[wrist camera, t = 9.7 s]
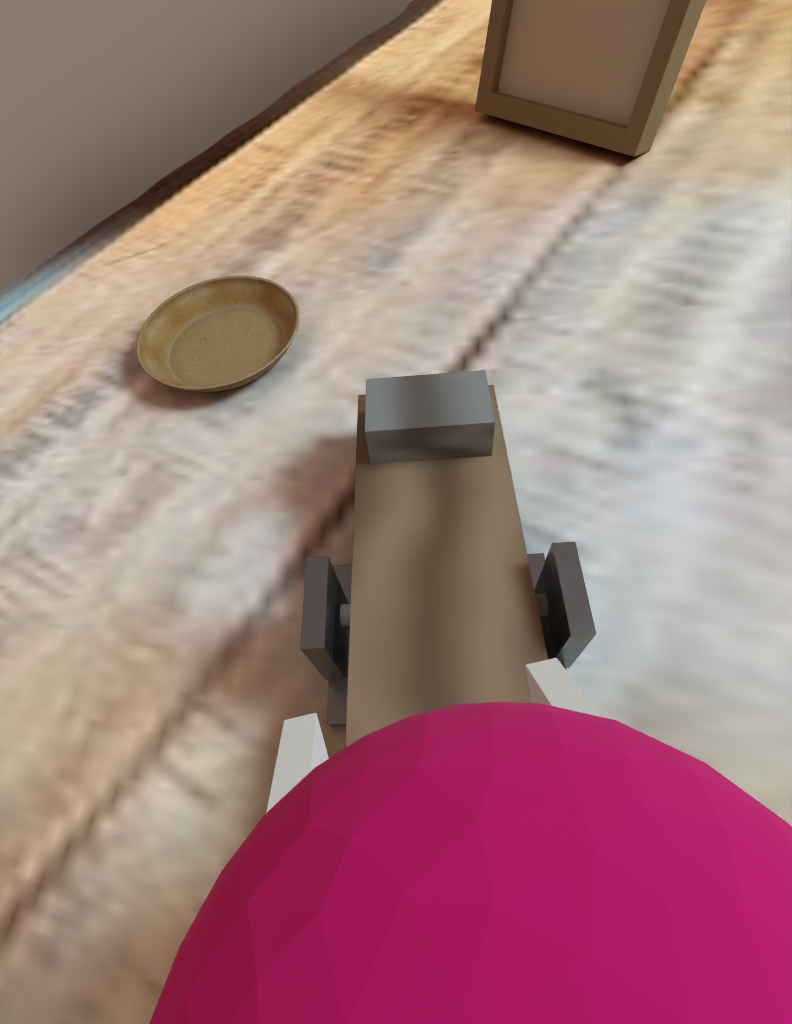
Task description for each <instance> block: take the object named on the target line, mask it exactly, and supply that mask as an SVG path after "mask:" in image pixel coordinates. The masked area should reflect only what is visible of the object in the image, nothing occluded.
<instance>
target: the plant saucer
mask: <svg viewBox="0 0 792 1024" xmlns="http://www.w3.org/2000/svg"><path fill="white" fill-rule="evenodd" d="M298 324H299V309H298V306H297V303H296V301H295V299H294V298H293V296H292V295H291V294H290V293H289V292H288V291H287V290H286V289H285V288H284V287H282V286H281V285H279V284H277V283H275V282H273V281H271V280H268V279H264V278H261V277H254V276H227V277H220V278H216V279H211V280H206V281H203V282H200V283H197V284H195V285H192V286H190V287H188V288H186V289H184V290H182V291H180V292H178V293H176V294H175V295H173V296H171V297H170V298H168V299H167V300H166V301H164V302H163V303H162V304H161V305H160V306H159V307H158V308H157V309H156V310H155V311H154V312H152V314H151V315H150V316H149V318H148V319H147V320H146V322H145V323H144V325H143V327H142V329H141V331H140V333H139V336H138V339H137V345H136V347H137V349H136V350H137V356H138V360H139V362H140V364H141V366H142V368H143V369H144V371H145V372H146V373H147V374H148V375H149V376H151V377H152V378H153V379H155V380H157V381H159V382H161V383H163V384H165V385H168V386H171V387H175V388H179V389H184V390H190V391H199V392H214V391H223V390H229V389H233V388H236V387H240V386H242V385H245V384H247V383H249V382H251V381H253V380H255V379H257V378H259V377H260V376H262V375H263V374H264V373H266V372H267V371H268V370H269V369H271V368H272V367H273V366H274V365H275V364H276V363H277V362H278V361H279V360H280V358H281V357H282V356H283V355H284V354H285V352H286V351H287V349H288V348H289V346H290V344H291V343H292V341H293V339H294V336H295V334H296V331H297V328H298Z"/></svg>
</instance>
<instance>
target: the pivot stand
mask: <svg viewBox="0 0 792 1024" xmlns="http://www.w3.org/2000/svg"><path fill="white" fill-rule="evenodd" d="M527 556H528V561H529V566H530V571H531V576H532V581H533V586H534V591H535V594H542V593H545V595H546V598H547V603H548V614H547V616H540V621H541V626H542V631H543V636H544V641H545V646H546V651H547V656H548V659H553V658H557V659H558V660H559V661H560V663H561V664H562V665H563V667H564V668H565V669H566V668H570V666H571V665H572V664H573V663H574V661H575V660H576V659H577V658H578V656H579V655H580V654H581V653H582V651H583V650H584V649H585V648H586V646H587V645H588V644H589V642H590V641H591V640H592V639H593V637H594V636H595V635H596V631H595V626H594V622H593V618H592V613H591V609H590V605H589V600H588V596H587V591H586V587H585V583H584V578H583V574H582V570H581V565H580V561H579V556H578V552H577V548H576V543H575V542H562V543H552V545H551V547H550V550H549V553H548V555H547V558H546V561H545V558H544V553H539V554H527ZM351 584H352V565H336V566H332V564H331V561H330V559H329V557H313V558H307V560H306V574H305V589H304V604H303V619H302V634H301V650H302V651H303V653H304V654H305V655H306V656H307V658H308V659H309V660H310V661H311V662H312V664H313V665H314V666H315V667H316V668H317V670H318V671H319V672H320V673H321V675H322V676H323V677H324V678H325V679H326V680H328V679H329V691H328V717H327V724H328V725H329V726H330V727H334V726H346V720H347V693H348V666H349V638H350V626H342V625H341V621H340V607H341V605H342V604H351Z"/></svg>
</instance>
